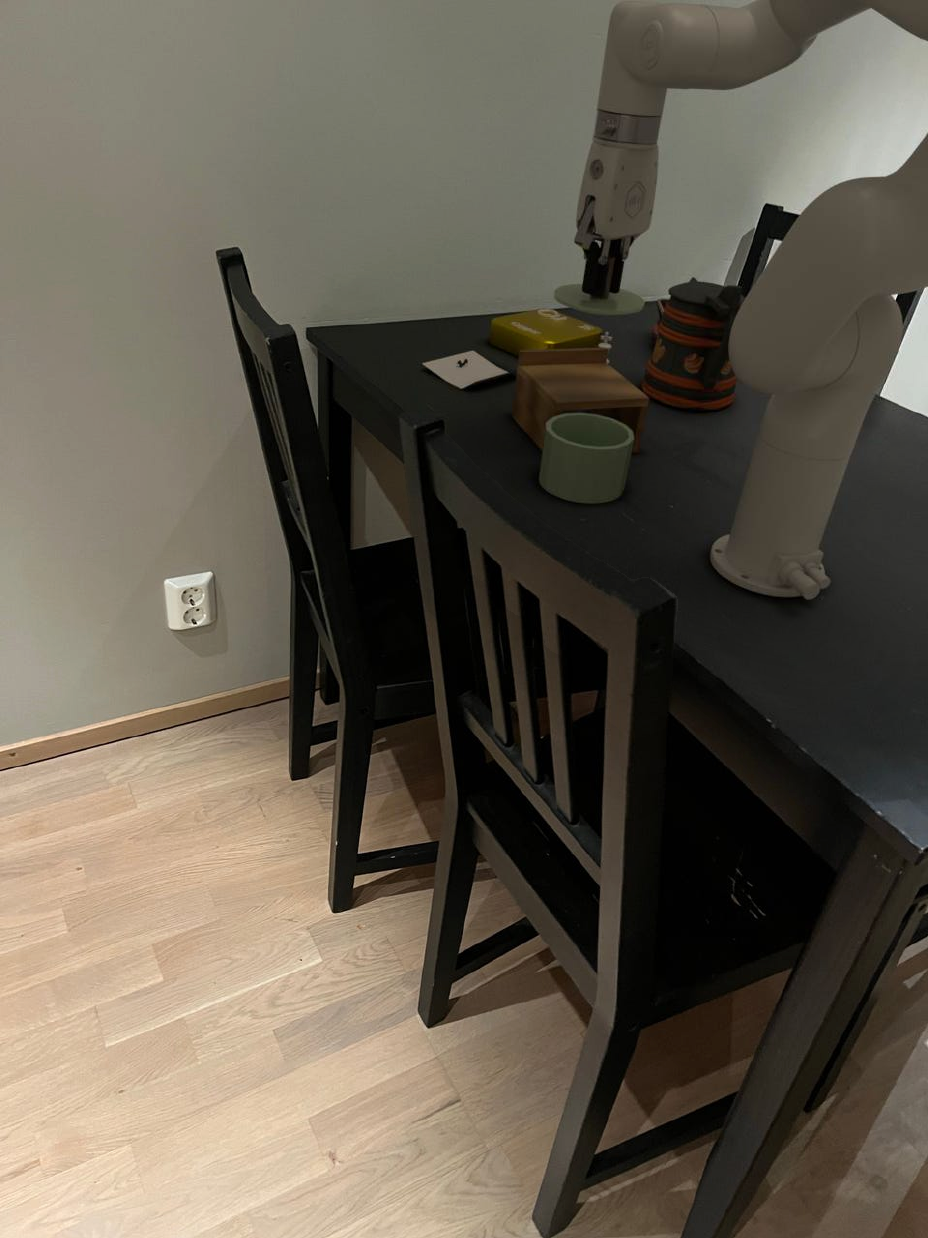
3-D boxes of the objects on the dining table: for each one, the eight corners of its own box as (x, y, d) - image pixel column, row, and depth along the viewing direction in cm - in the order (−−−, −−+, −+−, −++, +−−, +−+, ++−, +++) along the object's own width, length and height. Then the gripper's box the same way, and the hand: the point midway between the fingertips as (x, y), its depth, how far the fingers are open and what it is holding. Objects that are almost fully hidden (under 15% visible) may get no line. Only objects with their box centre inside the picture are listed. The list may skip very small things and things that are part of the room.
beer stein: (760, 424, 140) (797, 291, 129) (671, 424, 137) (701, 288, 126) (710, 379, 155) (740, 256, 144) (629, 378, 153) (652, 253, 141)
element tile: (484, 343, 162) (486, 315, 159) (542, 330, 171) (546, 304, 168) (545, 369, 153) (549, 340, 150) (603, 354, 162) (608, 327, 159)
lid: (659, 318, 115) (669, 268, 111) (575, 320, 111) (582, 268, 108) (618, 291, 123) (626, 243, 120) (539, 292, 120) (545, 243, 116)
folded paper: (472, 356, 155) (473, 345, 154) (525, 378, 149) (526, 367, 148) (420, 370, 148) (421, 358, 147) (473, 394, 141) (474, 381, 140)
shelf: (638, 452, 128) (652, 383, 122) (549, 458, 124) (559, 387, 118) (595, 412, 139) (606, 347, 133) (511, 416, 135) (519, 349, 129)
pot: (638, 499, 116) (649, 445, 112) (558, 506, 113) (567, 451, 108) (601, 462, 124) (610, 410, 120) (526, 467, 121) (532, 414, 117)
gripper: (611, 138, 99) (585, 310, 109) (691, 132, 109) (659, 290, 119) (557, 127, 103) (537, 294, 113) (639, 122, 113) (613, 276, 123)
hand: (600, 291), depth 116 cm, fingers closed on lid, 2 cm apart
